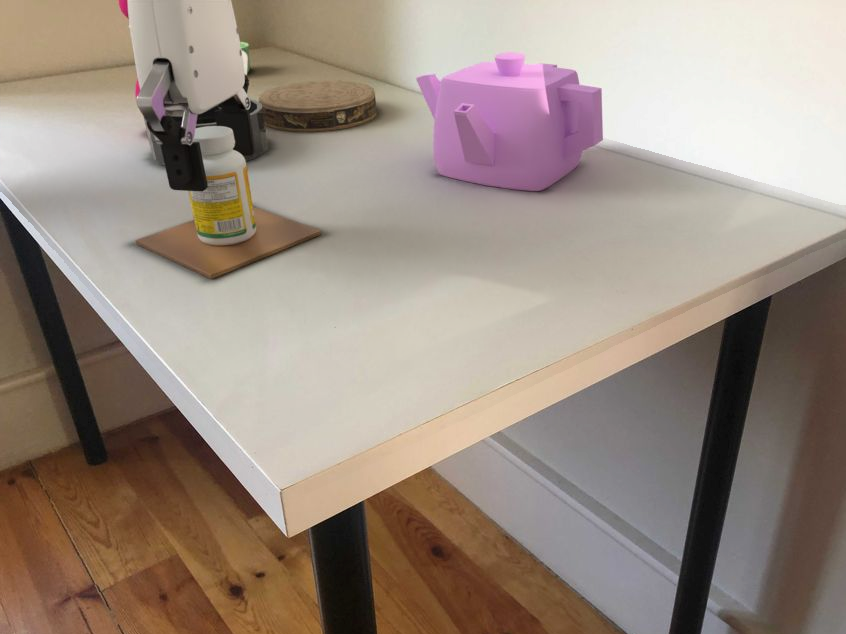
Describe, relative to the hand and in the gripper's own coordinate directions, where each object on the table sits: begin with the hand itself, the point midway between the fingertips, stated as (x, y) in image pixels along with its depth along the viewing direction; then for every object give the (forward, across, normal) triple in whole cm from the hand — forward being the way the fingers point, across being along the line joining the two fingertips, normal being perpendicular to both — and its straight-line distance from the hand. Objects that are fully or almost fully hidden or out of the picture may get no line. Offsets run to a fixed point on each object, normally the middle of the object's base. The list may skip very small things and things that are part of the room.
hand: (215, 170), depth 70 cm
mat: (+7, 0, 0) cm, 7 cm away
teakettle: (+7, -23, +22) cm, 33 cm away
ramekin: (+7, -68, -32) cm, 76 cm away
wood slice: (+7, -43, -6) cm, 44 cm away
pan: (+7, -26, -14) cm, 30 cm away
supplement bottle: (+6, 0, 0) cm, 6 cm away
